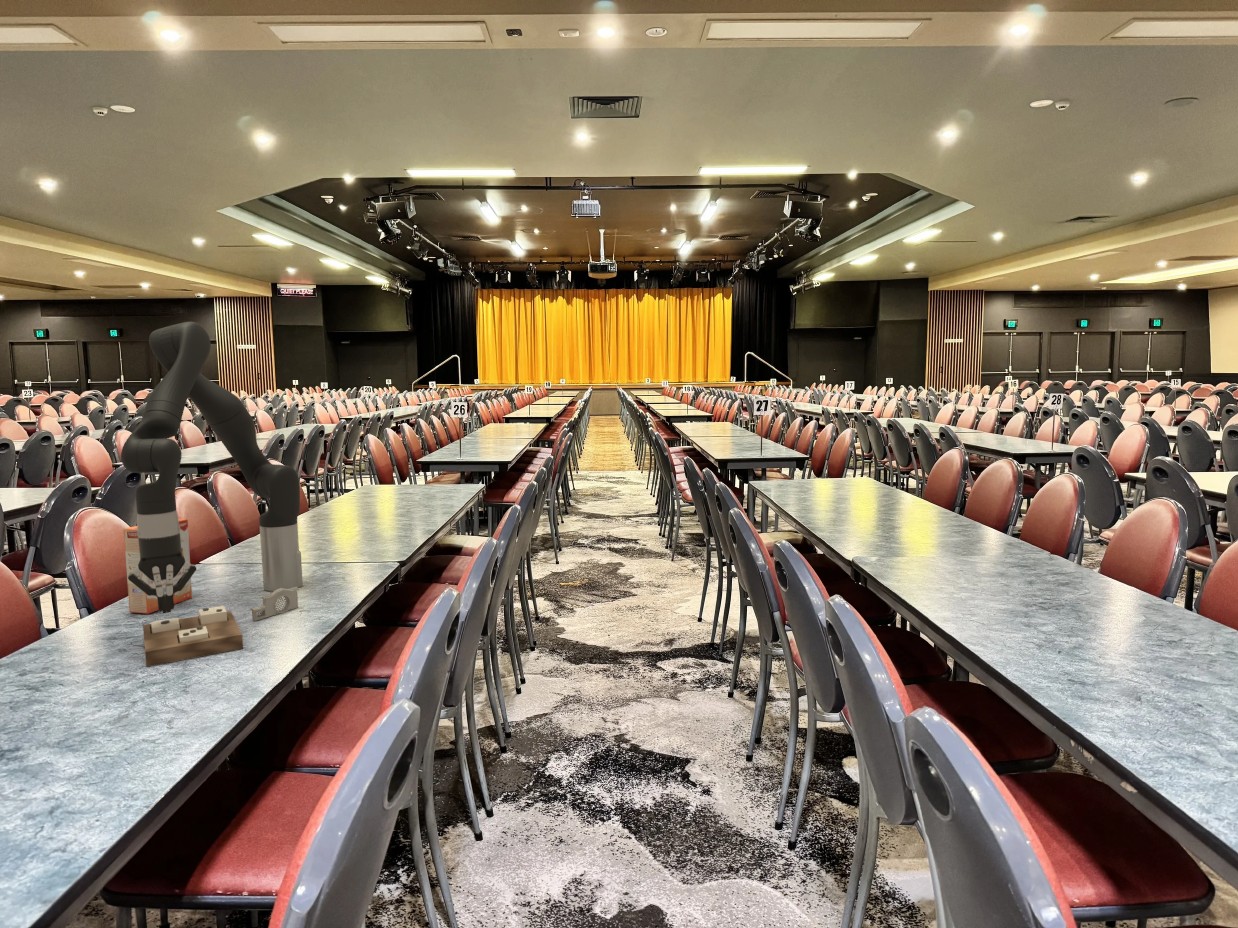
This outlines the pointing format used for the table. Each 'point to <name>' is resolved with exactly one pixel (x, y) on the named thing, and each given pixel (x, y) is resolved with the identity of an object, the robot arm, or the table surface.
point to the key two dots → (212, 615)
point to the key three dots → (193, 634)
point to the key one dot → (165, 625)
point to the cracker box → (137, 597)
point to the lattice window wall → (270, 603)
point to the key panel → (169, 649)
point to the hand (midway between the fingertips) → (166, 611)
